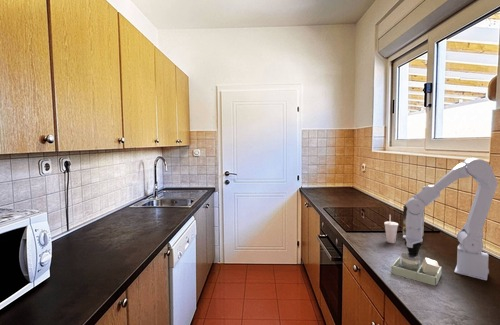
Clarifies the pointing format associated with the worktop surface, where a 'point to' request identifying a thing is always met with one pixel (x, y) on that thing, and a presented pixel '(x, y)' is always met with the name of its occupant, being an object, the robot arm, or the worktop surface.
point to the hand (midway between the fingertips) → (413, 259)
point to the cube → (430, 266)
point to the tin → (410, 261)
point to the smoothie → (391, 230)
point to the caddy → (415, 274)
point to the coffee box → (405, 220)
